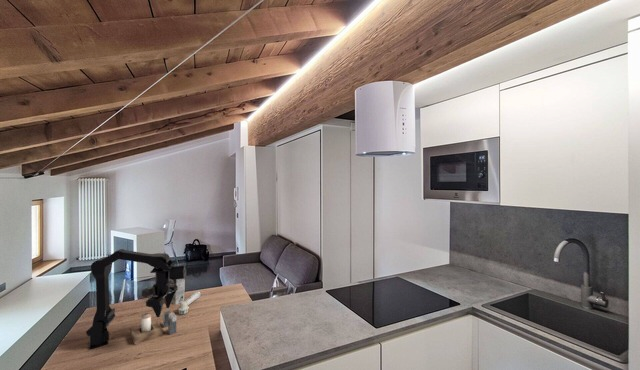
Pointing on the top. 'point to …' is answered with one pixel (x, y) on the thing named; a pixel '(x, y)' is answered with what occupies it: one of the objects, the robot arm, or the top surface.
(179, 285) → the coffee box
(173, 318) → the lock bolt
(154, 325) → the socket block
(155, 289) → the robot arm
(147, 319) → the white cylinder
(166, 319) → the bolt mount
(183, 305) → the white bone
